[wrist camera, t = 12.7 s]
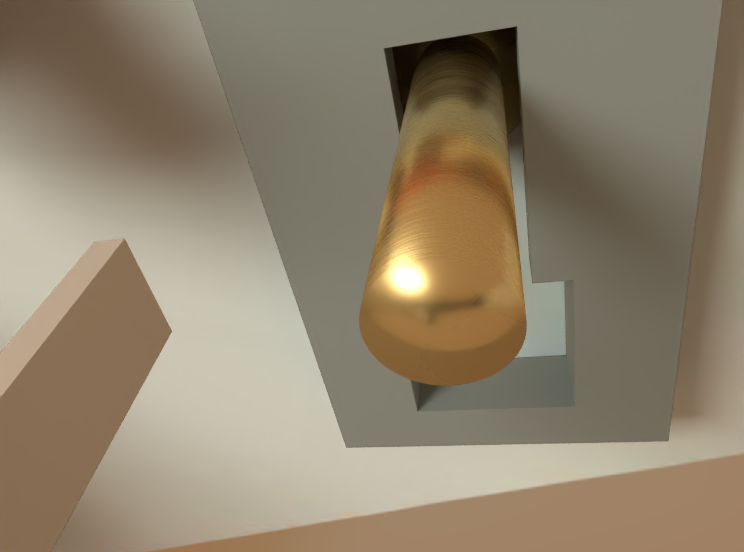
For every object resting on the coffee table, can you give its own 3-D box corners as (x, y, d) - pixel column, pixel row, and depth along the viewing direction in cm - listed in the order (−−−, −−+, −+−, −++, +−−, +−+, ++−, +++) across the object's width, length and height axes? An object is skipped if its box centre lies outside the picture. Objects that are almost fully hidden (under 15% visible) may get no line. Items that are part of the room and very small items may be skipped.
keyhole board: (355, 399, 34) (346, 447, 31) (199, -112, 20) (159, -101, 17) (651, 388, 30) (668, 441, 28) (709, -235, 17) (752, -243, 14)
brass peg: (394, 149, 24) (328, 432, 13) (366, 1, 21) (249, 210, 10) (540, 131, 23) (601, 426, 12) (534, -30, 20) (609, 171, 9)
